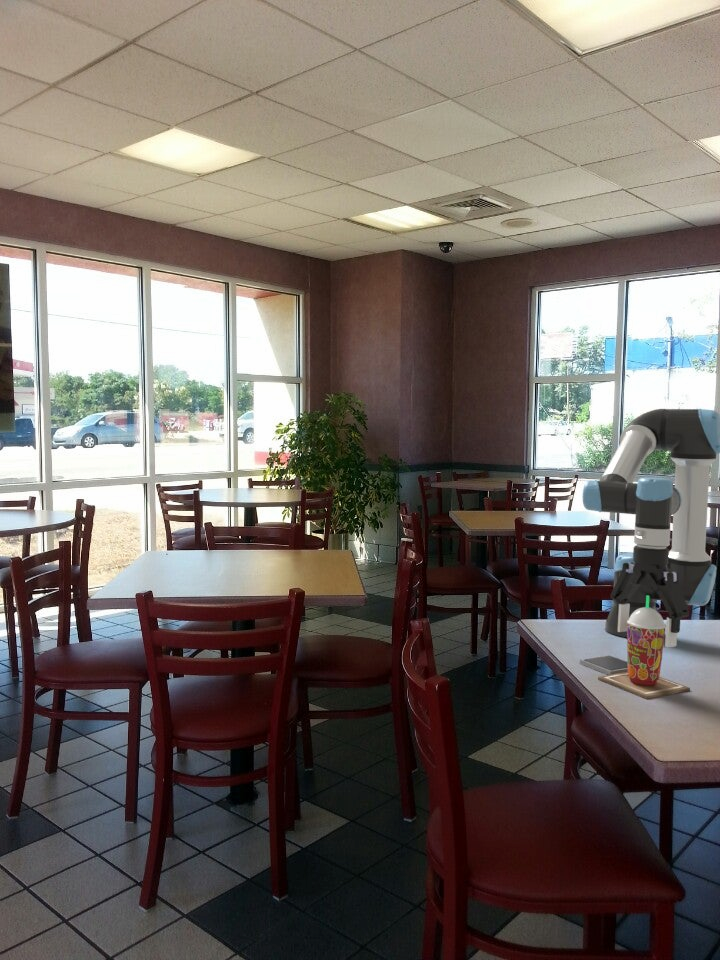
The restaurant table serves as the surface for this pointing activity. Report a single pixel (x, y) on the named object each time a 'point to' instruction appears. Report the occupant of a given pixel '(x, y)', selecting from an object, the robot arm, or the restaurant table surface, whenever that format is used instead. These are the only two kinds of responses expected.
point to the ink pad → (606, 664)
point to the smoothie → (645, 645)
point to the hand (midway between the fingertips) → (645, 638)
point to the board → (646, 692)
